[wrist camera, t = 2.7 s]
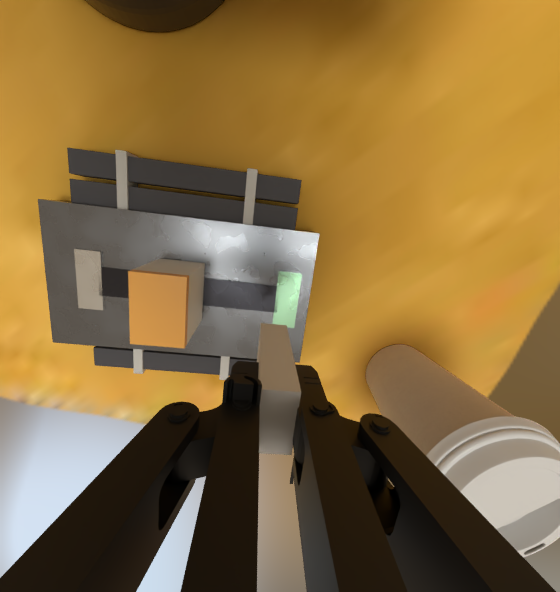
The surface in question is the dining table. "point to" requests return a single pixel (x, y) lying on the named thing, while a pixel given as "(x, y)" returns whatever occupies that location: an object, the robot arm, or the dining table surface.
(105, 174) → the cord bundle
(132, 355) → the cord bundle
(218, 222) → the panel
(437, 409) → the coffee cup
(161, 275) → the lever
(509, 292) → the dining table surface
